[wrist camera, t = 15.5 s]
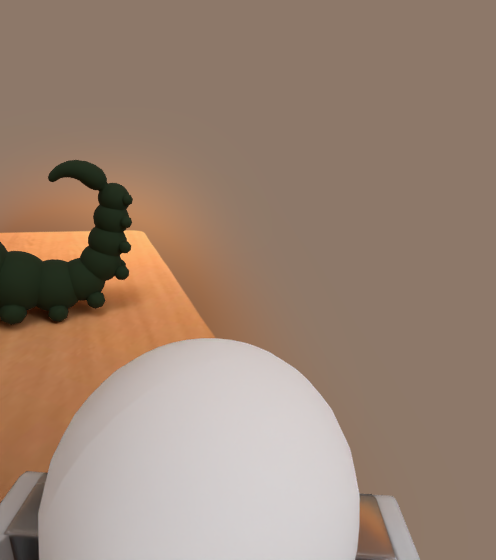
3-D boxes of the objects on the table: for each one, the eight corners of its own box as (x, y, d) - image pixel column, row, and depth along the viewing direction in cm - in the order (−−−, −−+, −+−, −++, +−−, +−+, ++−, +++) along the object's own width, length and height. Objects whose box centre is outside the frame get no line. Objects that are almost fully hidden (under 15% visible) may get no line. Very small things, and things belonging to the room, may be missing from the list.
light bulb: (121, 1024, 7) (33, 688, 3) (59, 634, 12) (-2, 326, 8) (363, 726, 10) (469, 402, 6) (235, 527, 15) (252, 280, 11)
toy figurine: (120, 302, 52) (-115, 309, 41) (126, 163, 46) (-146, 128, 35) (130, 332, 44) (-157, 352, 33) (140, 171, 39) (-205, 128, 27)
